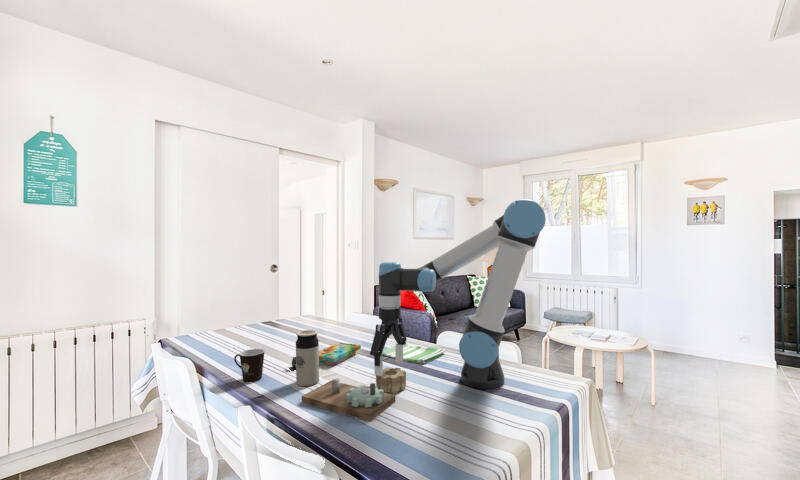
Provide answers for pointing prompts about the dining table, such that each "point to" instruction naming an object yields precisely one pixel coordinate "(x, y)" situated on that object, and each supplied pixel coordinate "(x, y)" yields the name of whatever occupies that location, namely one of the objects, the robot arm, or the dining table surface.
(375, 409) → the gear board
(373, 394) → the gear
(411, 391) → the dining table surface
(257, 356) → the coffee mug
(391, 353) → the dish towel
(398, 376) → the beech gear
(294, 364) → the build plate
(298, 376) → the travel mug
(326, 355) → the puzzle game
